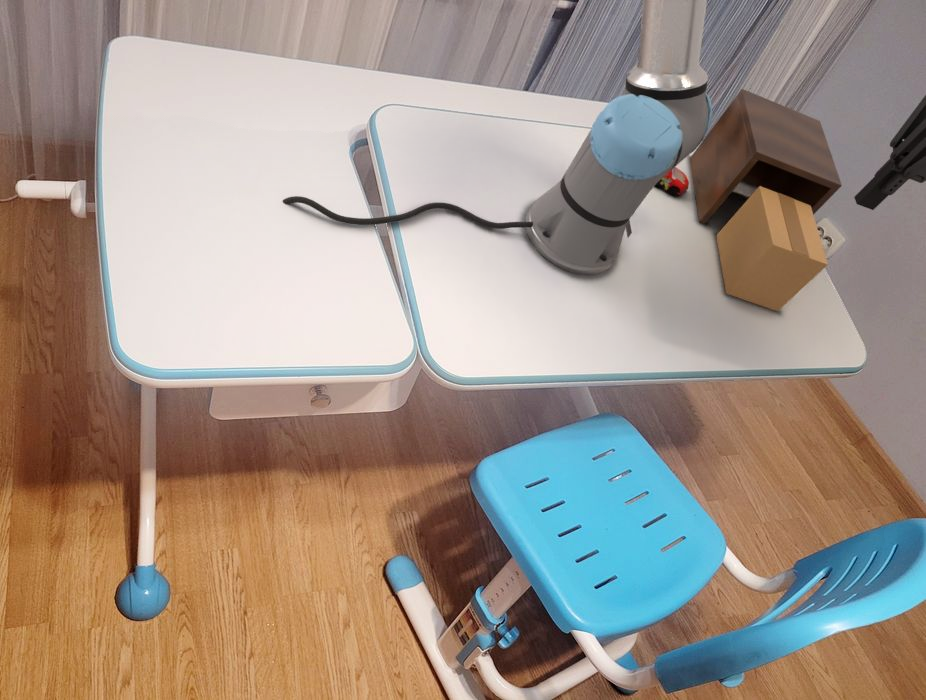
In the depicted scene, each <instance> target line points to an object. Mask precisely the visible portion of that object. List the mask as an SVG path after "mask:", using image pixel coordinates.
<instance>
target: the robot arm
mask: <svg viewBox="0 0 926 700" xmlns="http://www.w3.org/2000/svg"><path fill="white" fill-rule="evenodd" d="M707 4H708V0H642V7H641V21H640V32H639V33H640V34H639V46H638V59H637V63H636V64H635V65H634V66H633V67H632V68H631V69H630V70H629V71H628V72H627V73H626V76H625V87H624V94H622V95H619V96H617V97H615V98H614V99H612V100H611V101H610V102H608V103H607V104H606V106H605V107H604V108H603V110H601V111H600V112H599V114H598V115H597V116H596V118H595V120H594V122H593V123H592V127H591V129H590V130H589V132H588V133H587V135H586V137H585V139H584V141H583V142H582V144H581V146H580V147H579V149H578V150H577V152H576V155H575V156H574V157H573V158H572V161H571V162H570V164H569V166H568V168H567V169H566V171H565V173H564V174H563V176H562V178H561V180H560V181H558V182H557V183H556V184H555V185H554V186H552V187H551V188H550V189H548V190H547V191H546V192H544V193H543V194H542V195H541V196H540V197H538V198H537V199H536V200H535V201H534V202H533V204H532V205H531V207H530V208H529V210H528V211H527V214H526V217H525V221H508V222H494V221H489V220H486V219H484V218H482V217H479V216H477V215H476V214H473V213H472V212H470V211H468V210H466V209H465V208H462V207H460V206H458V205H455V204H453V203H447V202H429V203H427V204H426V203H425V204H423V205H421V206H418V207H416V208H415V209H411V210H410V211H406V212H404V213H400V214H395V215H387V216H381V217H370V218H368V217H367V218H366V217H365V218H362V217H361V218H359V217H350V216H344V215H340V214H338V213H335V212H333V211H331V210H330V209H328V208H326V207H325V206H324V205H322V204H320V203H318V202H317V201H315V200H313V199H311V198H308V197H305V196H300V195H299V196H298V195H296V196H288V197H286V198H284V199H282V203H283V204H284V205H291V204H304V205H307V206H309V207H311V208H313V209H314V210H316V211H318V212H319V213H321V214H322V215H324V216H325V217H327V218H329V219H332V220H333V221H336V222H339V223H343V224H347V225H357V226H373V225H383V224H390V223H396V222H401V221H405V220H408V219H411V218H413V217H416V216H417V215H420V214H422V213H424V212H427V211H430V210H436V209H439V210H440V209H443V210H448V211H452V212H455V213H456V214H459V215H461V216H464V217H465V218H467V219H469V220H471V221H473V222H474V223H475V224H479V225H481V226H484V227H486V228H489V229H490V228H491V229H495V230H503V229H519V228H522V229H523V228H525V230H526V233H527V235H528V238H529V240H530V242H531V244H532V245H533V246H534V248H535V249H536V250H537V251H538V253H540V255H542V256H543V257H544V258H545V259H546V260H547V261H549V262H550V263H551V264H553V265H554V266H557V267H558V268H560V269H562V270H565V271H567V272H570V273H573V274H577V275H583V276H593V275H598V274H601V273H604V272H605V271H607V270H608V269H609V268H610V267H611V266H612V264H613V263H614V262H615V260H616V259H617V257H618V255H619V252H620V248H621V245H622V242H623V238H624V235H625V232H626V236H627V238H629V237H630V236H631V234H632V233H633V232H632V227H631V221H630V219H631V218H632V217H633V215H634V214H635V212H636V211H638V209H639V207H640V206H641V204H642V202H644V200H645V199H646V197H647V196H648V195H649V193H650V192H651V191H652V189H653V188H654V187H655V186H657V185H656V184H657V182H659V181H660V180H661V179H662V178H663V177H664V176H665V175H666V174H667V173H668V172H669V171H671V170H672V169H673V168H674V167H677V166H678V165H679V164H680V163H682V161H684V160H685V159H686V158H687V157H688V156H689V155H690V154H693V153H694V152H695V151H696V149H697V148H698V147H699V145H700V144H701V143H702V141H703V140H704V139H705V137H706V136H707V135H708V133H709V131H710V128H711V124H712V119H713V105H712V100H711V98H710V95H709V94H707V87H708V82H709V81H708V80H709V75H708V73H707V72H706V71H705V70H704V69H703V67H702V66H701V65H700V58H701V51H702V44H703V43H702V41H703V36H704V35H703V34H704V26H705V20H706V11H707ZM889 147H890V148H892V152H891V153H890V155H889V159H888V160H887V161H886V162H885V163H884V164H883V165H882V166H881V167H880V168H879V169H878V170H877V171H876V172H875V174H874V177H872V179H871V180H869V181H868V182H867V184H865V185H864V187H862V188H861V189H860V190H859V192H857V193H856V194H855V195H854V196H853V198H854V201H855V203H856V205H858V206H860V207H863V208H866V209H869V210H872V211H874V210H875V209H876V208H878V206H879V205H880V204H881V203H882V202H883V201H885V200H886V199H887V198H888V197H889V196H892V195H894V194H895V193H896V192H897V191H898V190H899V189H900V188H901V187H902V186H904V184H905V183H907V182H908V181H909V180H911V181H914V182H917V183H918V184H923V183H925V182H926V94H925V95H924V96H923V97H922V98H921V100H920V102H919V103H918V104H917V106H916V107H915V109H914V110H913V111H912V112H911V114H910V115H909V116H908V118H907V119H906V121H904V123H903V125H902V126H901V127H900V128H899V130H898V131H897V132H896V134H895V135H894V137H893V138H892V139H891V141H890V142H889ZM625 230H626V231H625Z"/></svg>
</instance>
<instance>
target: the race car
mask: <svg viewBox="0 0 926 700" xmlns="http://www.w3.org/2000/svg"><path fill="white" fill-rule="evenodd" d="M689 185H690V181H689V179H688V176H687V175H686V174H685V173H684V171H682V170H681V169H680V168H678V167H677V166H675V167H674V168H673V169H672V170H671V171H669V172H668V173H667V174H666V175H665V176H664V177H663V178H662V179H661V180H660V181H659V182H657V184H656V185H655V186H658V187H660V188H662V189H663V190H665V191H667V192H668V194H669V195H671V196H676V195H677V196H680V195H683V194H685V192H687V190H688V189H689Z"/></svg>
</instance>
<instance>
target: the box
mask: <svg viewBox="0 0 926 700" xmlns="http://www.w3.org/2000/svg"><path fill="white" fill-rule="evenodd" d="M814 215H815V214H814ZM814 215H813V212H812V208H811V206H810V205H808V204H805V203H803V202H800V201H798V200H795V199H793V198H791V197H788V196H786V195H783V194H780V193H777V192H774V191H772V190H769V189H766V188H764V187H761V186H759V187H758V188H756V189H755V190H754V191H753V193H752V194H750V196H749V197H748V198H747V200H745V202H744V203H743V204H742V205H741V207H739V209H738V210H737V211H736V212H735V213H734V215H733V216H732V217H731V218H729V220H728V222H727V223H726V224H725V225H724V226H723V227H722V228H721V230H720V231H718V233H716V235H715V237H716V241H717V247H718V248H717V249H718V253H719V254H718V255H719V260H720V265H721V273H722V277H723V283H724V289H725V290H724V291H725V295H730V296H732V297H735V298H738V299H740V300H744V301H747V302H749V303H752V304H755V305H758V306H761V307H764V308H766V309H769V310H772V311H776V312H779V311H780V310H781V309H782V308H783V307H784V306H786V304H788V303H789V301H791V299H793V298H794V297H795V296H796V295H797V294H798V293H799V292H801V290H802V289H803V288H805V286H807V285H808V284H809V283H810V282H811V281H812V280H814V278H816V276H818V275H819V274H820V273H821V272H822V271H823V270H824V269H825V268H826V267H827V266H829V264H828V260H827V257H826V254H825V250H824V245H823V244H822V240H821V236H820V233H819V229H818V226H817V223H816V218H815V216H814Z"/></svg>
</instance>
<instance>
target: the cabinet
mask: <svg viewBox="0 0 926 700" xmlns="http://www.w3.org/2000/svg"><path fill="white" fill-rule="evenodd" d="M689 162H690V170H691V175H692V176H691V177H692V182H693V188H694V196H695V201H696V202H695V203H696V209H697V216H698V222H699V223H701V224H704V225H706V224H707V223H708V221H709V220H710V218H712V216H713V215H714V214H715V213H716V211H717V210H719V208H720V206H722V204H723V203H724V202H725V201H726V199H727V198H728V197H729V196H730V195H731V193H733V191H734V190H735V189H736V188H737V187H738V185H739V184H740V183H744V184H746V185H748V186H752V187H755V188H756V189H757V188H758V187H759V186H761V187H764V188H766V189H769V190H772V191H774V192H777V193H780V194H783V195H786V196H788V197H791V198H793V199H795V200H798V201H800V202H803V203H805V204H808V205H810V206H811V208H812V212H813V215H815V214H816V213H817V212H818V211H819V210H820V209H821V208H822V207H823V206H824V205H825V204H826V203H827V202H828V201H829V200H830V199H831V198H832V196H834V195H835V193H836V192H837V191H838V190H840V188H841V187H842V186H843V185H842V182H841V178H840V176H839V173H838V170H837V167H836V165H835V161H834V158H833V155H832V152H831V149H830V146H829V143H828V140H827V138H826V135H825V132H824V128H823V126H822V123H821V121H820V120H818V119H816V118H813V117H811V116H809V115H807V114H804V113H802V112H799V111H797V110H795V109H792V108H790V107H787V106H786V105H785V106H784V105H782V104H780V103H778V102H775V101H774V100H770V99H768V98H766V97H763V96H761V95H758V94H756V93H753V92H751V91H748V90H747V89H744V88H741V89H740V90H739V91H738V93H737V94H736V96H735V97H734V98H733V99H732V101H731V102H730V103H729V105H728V106H727V108H726V109H725V110H724V112H722V114H721V116H720V117H719V118H718V120H717V121H716V122H715V124H714V125H713V126H712V128H711V129H710V130H709V131H708V132H707V134H706V135H705V137H704V138H703V141H702V142H701V144H700V145H699V146H698V147H697V148H696V149H695V150H694V151H693V152H692V155H691V156H690V157H689Z"/></svg>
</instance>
